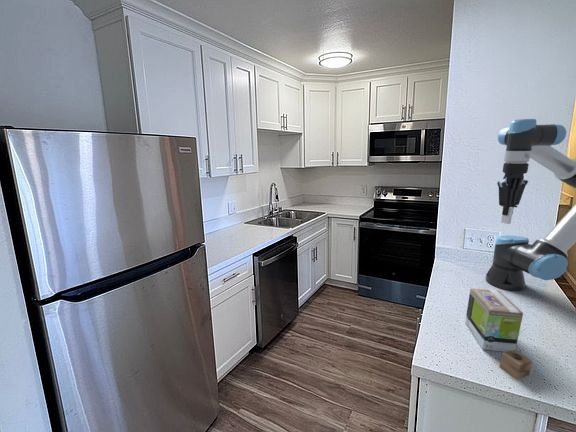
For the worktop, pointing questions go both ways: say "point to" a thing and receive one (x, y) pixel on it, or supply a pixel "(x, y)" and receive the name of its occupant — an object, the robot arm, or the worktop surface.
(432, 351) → the worktop surface
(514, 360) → the walnut block
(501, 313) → the tea box
